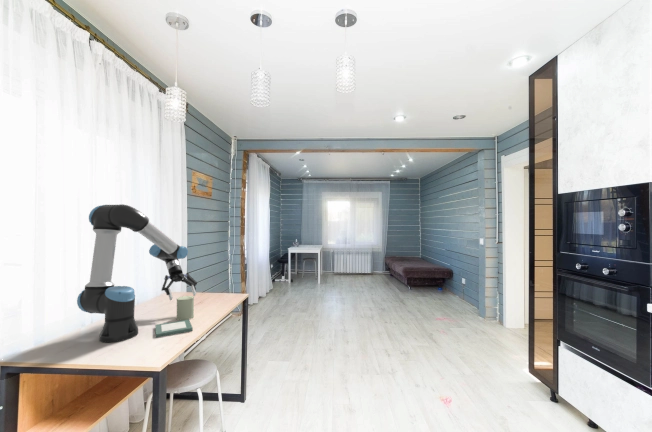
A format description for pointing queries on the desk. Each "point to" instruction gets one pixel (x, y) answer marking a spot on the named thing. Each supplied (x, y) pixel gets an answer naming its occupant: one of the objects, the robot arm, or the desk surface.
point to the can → (185, 308)
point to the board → (173, 328)
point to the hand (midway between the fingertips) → (183, 296)
